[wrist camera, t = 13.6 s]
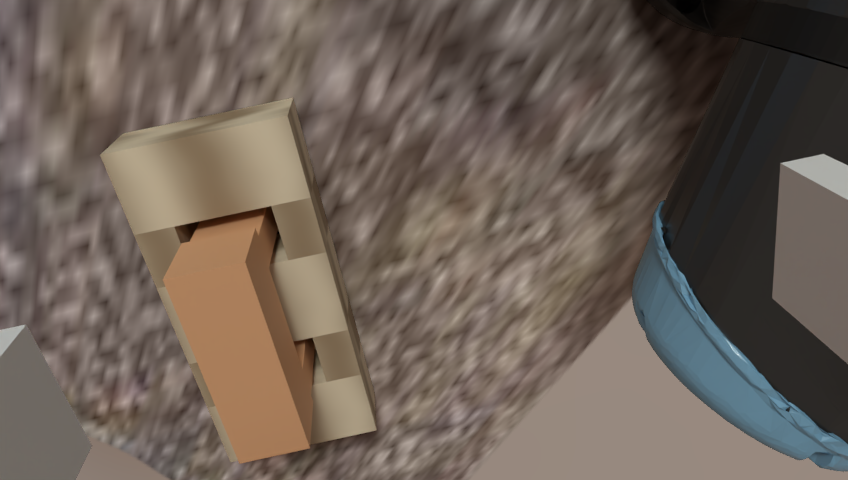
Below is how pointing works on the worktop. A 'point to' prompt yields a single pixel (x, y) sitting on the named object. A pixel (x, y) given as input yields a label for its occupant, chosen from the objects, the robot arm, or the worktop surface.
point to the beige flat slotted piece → (293, 250)
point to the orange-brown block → (244, 334)
